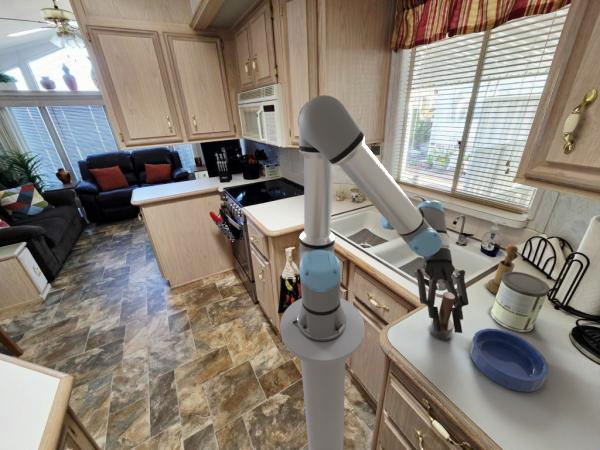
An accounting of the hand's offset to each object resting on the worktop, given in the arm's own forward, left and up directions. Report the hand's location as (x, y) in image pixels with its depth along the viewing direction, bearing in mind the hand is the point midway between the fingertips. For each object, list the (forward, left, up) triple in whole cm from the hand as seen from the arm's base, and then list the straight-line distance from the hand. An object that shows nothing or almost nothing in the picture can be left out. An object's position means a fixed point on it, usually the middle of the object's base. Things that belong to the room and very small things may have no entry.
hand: (448, 331), depth 68 cm
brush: (0, +4, -4) cm, 6 cm away
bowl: (+12, -5, -5) cm, 14 cm away
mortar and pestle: (+27, +25, -5) cm, 37 cm away
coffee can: (+23, +11, -5) cm, 26 cm away
